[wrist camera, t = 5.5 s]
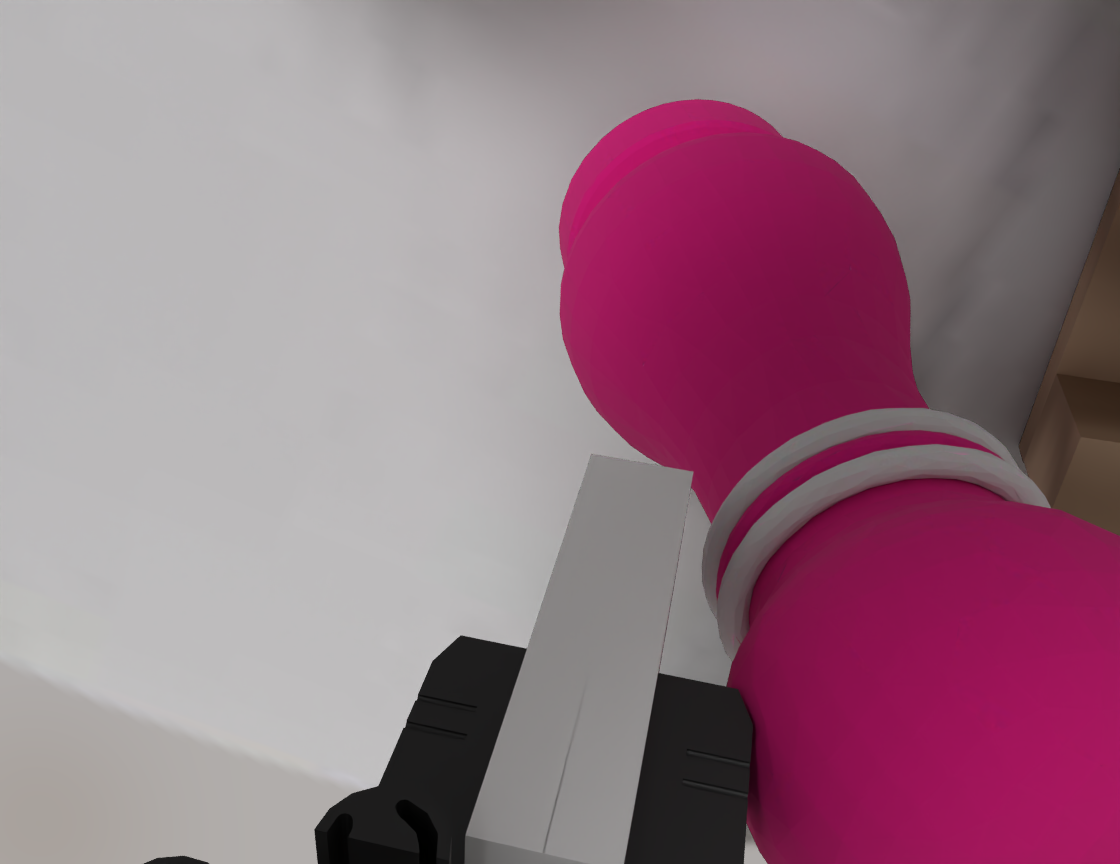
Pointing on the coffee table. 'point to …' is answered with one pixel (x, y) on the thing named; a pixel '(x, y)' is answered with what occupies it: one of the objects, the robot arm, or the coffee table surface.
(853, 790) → the pepper mill
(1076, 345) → the cradle
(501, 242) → the coffee table surface
